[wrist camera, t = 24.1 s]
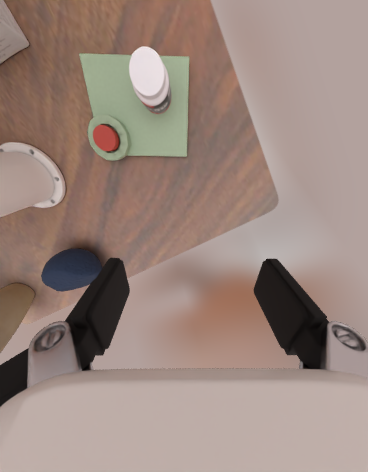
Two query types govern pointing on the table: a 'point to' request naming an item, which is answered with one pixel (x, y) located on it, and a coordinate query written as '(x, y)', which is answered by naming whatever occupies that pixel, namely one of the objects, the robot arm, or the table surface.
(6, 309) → the plant pot
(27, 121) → the table surface
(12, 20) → the cosmetic box
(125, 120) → the scale
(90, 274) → the decorative stone
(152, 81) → the pill bottle
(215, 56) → the table surface
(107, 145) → the button
